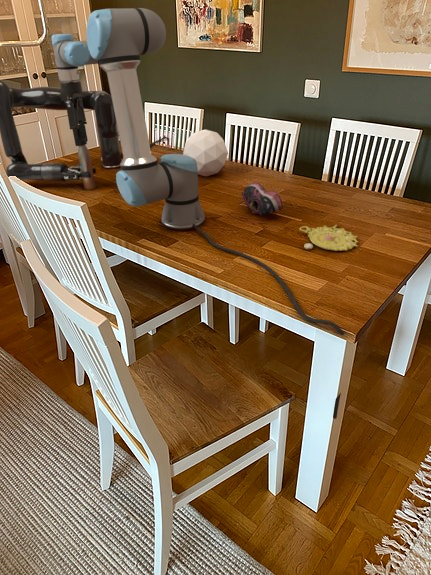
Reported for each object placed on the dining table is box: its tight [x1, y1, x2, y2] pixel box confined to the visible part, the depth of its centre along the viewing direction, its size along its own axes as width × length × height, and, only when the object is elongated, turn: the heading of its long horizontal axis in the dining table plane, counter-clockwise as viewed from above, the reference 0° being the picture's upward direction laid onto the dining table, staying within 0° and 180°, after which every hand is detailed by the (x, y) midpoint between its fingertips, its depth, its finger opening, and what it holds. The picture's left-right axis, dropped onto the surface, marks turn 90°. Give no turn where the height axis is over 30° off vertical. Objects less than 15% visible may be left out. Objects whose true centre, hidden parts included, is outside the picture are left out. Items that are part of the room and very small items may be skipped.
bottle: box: [77, 144, 96, 191], centre depth 183 cm, size 5×5×20 cm
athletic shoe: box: [238, 182, 284, 217], centre depth 160 cm, size 11×22×12 cm
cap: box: [81, 137, 88, 146], centre depth 178 cm, size 4×4×2 cm
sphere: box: [182, 128, 229, 177], centre depth 194 cm, size 19×20×20 cm
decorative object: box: [299, 224, 359, 252], centre depth 141 cm, size 21×2×20 cm
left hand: (93, 172), depth 185 cm, fingers closed on bottle, 4 cm apart
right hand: (81, 143), depth 179 cm, fingers open, 6 cm apart
